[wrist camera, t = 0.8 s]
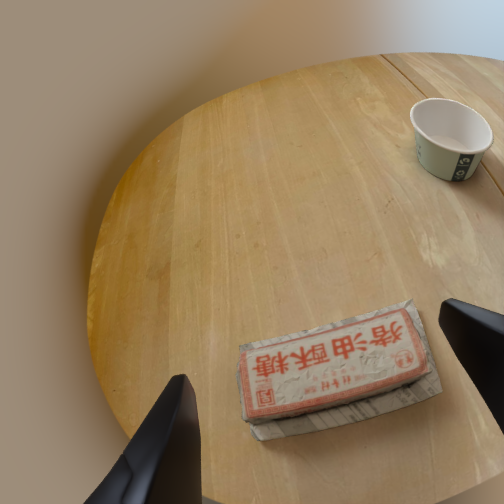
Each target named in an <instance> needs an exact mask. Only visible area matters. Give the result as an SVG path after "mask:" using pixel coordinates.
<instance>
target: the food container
mask: <svg viewBox="0 0 504 504" xmlns="http://www.w3.org/2000/svg"><path fill="white" fill-rule="evenodd" d="M410 119H411V122H412V124H413V126H414V131H415V140H416V150H417V157H418V160H419V162H420V163H421V165H422V166H423V167H424V168H425V169H426V170H427V171H428V172H430V173H431V174H433V175H435V176H436V177H439V178H441V179H444V180H448V181H463V180H466V179H468V178H469V177H471V176H472V174H473V173H474V171H475V169H476V168H477V166H478V164H479V162H480V160H481V159H482V157H483V155H484V153H485V151H486V150H488V149H489V148H490V147H491V146H492V144H493V140H494V135H493V131H492V129H491V127H490V125H489V123H488V122H487V121H486V120H485V119H484V117H482V116H481V115H480V114H479V113H478V112H476V111H475V110H473V109H472V108H470V107H468V106H466V105H464V104H462V103H459V102H457V101H453V100H449V99H443V98H430V99H425V100H422V101H420V102H418V103H416V104H415V105H414V106H413V107H412V109H411V112H410Z"/></svg>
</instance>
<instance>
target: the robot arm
mask: <svg viewBox="0 0 504 504" xmlns="http://www.w3.org/2000/svg"><path fill="white" fill-rule="evenodd" d="M439 325H440V327H441V329H442V331H443V333H444V334H445V336H446V338H447V340H448V342H449V344H450V345H451V347H452V349H453V351H454V353H455V355H456V357H457V358H458V360H459V361H460V363H461V364H462V366H463V367H464V369H465V370H466V372H467V374H468V375H469V377H470V378H471V380H472V381H473V383H474V385H475V386H476V388H477V389H478V391H479V393H480V394H481V396H482V398H483V399H484V401H485V403H486V404H487V406H488V408H489V409H490V411H491V413H492V415H493V416H494V418H495V420H496V422H497V423H498V425H499V427H500V429H501V431H502V433H503V434H504V315H502V314H499V313H496V312H493V311H490V310H487V309H484V308H481V307H478V306H475V305H472V304H469V303H465V302H462V301H459V300H456V299H453V298H450V299H447V300H445V301H443V302H442V304H441V308H440V314H439ZM84 504H202V489H201V436H200V428H199V420H198V412H197V404H196V396H195V392H194V389H193V387H192V385H191V383H190V381H189V379H188V377H187V376H186V375H185V374H180V375H174V376H173V377H172V378H171V379H170V381H169V383H168V384H167V386H166V387H165V389H164V390H163V392H162V393H161V395H160V396H159V398H158V399H157V401H156V402H155V404H154V405H153V407H152V408H151V410H150V412H149V413H148V415H147V416H146V418H145V419H144V421H143V422H142V424H141V425H140V427H139V428H138V430H137V431H136V433H135V434H134V436H133V437H132V439H131V441H130V442H129V444H128V445H127V447H126V448H125V450H124V451H123V454H121V456H120V457H119V459H118V460H117V462H116V463H115V465H114V466H113V467H112V469H111V471H110V472H109V473H108V474H107V476H106V477H105V478H104V480H103V481H102V482H101V483H100V484H99V486H98V487H97V488H96V489H95V491H94V492H93V493H92V494H91V495H90V496H89V497H88V499H87V500H86V501H85V502H84Z"/></svg>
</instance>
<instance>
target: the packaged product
mask: <svg viewBox="0 0 504 504" xmlns="http://www.w3.org/2000/svg"><path fill="white" fill-rule="evenodd" d="M239 347H240V357H239V362H238V363H237V373H236V379H237V384H238V388H239V393H240V398H241V399H240V403H241V405H242V419H243V421H245V422H246V423H247V422H249V424H250V430H251V435H252V436H253V437H254V438H255V439H256V440H257V441H263V440H271V439H277V438H282V437H287V436H293V435H299V434H305V433H311V432H316V431H321V430H325V429H329V428H333V427H337V426H341V425H346V424H350V423H354V422H358V421H362V420H366V419H369V418H372V417H375V416H378V415H382V414H385V413H388V412H391V411H395V410H398V409H401V408H404V407H407V406H410V405H412V404H415V403H418V402H421V401H424V400H426V399H428V398H430V397H433V396H435V395H437V394H439V393H441V392H443V391H442V387H441V383H440V379H439V375H438V373H437V369H436V365H435V362H434V359H433V356H432V353H431V350H430V347H429V344H428V341H427V337H426V335H425V332H424V329H423V325H422V322H421V320H420V317H419V314H418V311H417V309H416V307H415V304H414V301H413V298H412V299H410V300H407V301H404V302H401V303H398V304H394V305H391V306H388V307H385V308H382V309H380V310H376V311H373V312H369V313H366V314H362V315H359V316H356V317H352V318H348V319H345V320H341V321H338V322H335V323H330V324H326V325H323V326H319V327H317V328H314V329H312V330H310V331H309V330H304V331H301V332H297V333H292V334H288V335H284V336H281V337H277V338H271V339H267V340H262V341H258V342H253V343H248V344H244V345H240V346H239Z"/></svg>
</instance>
